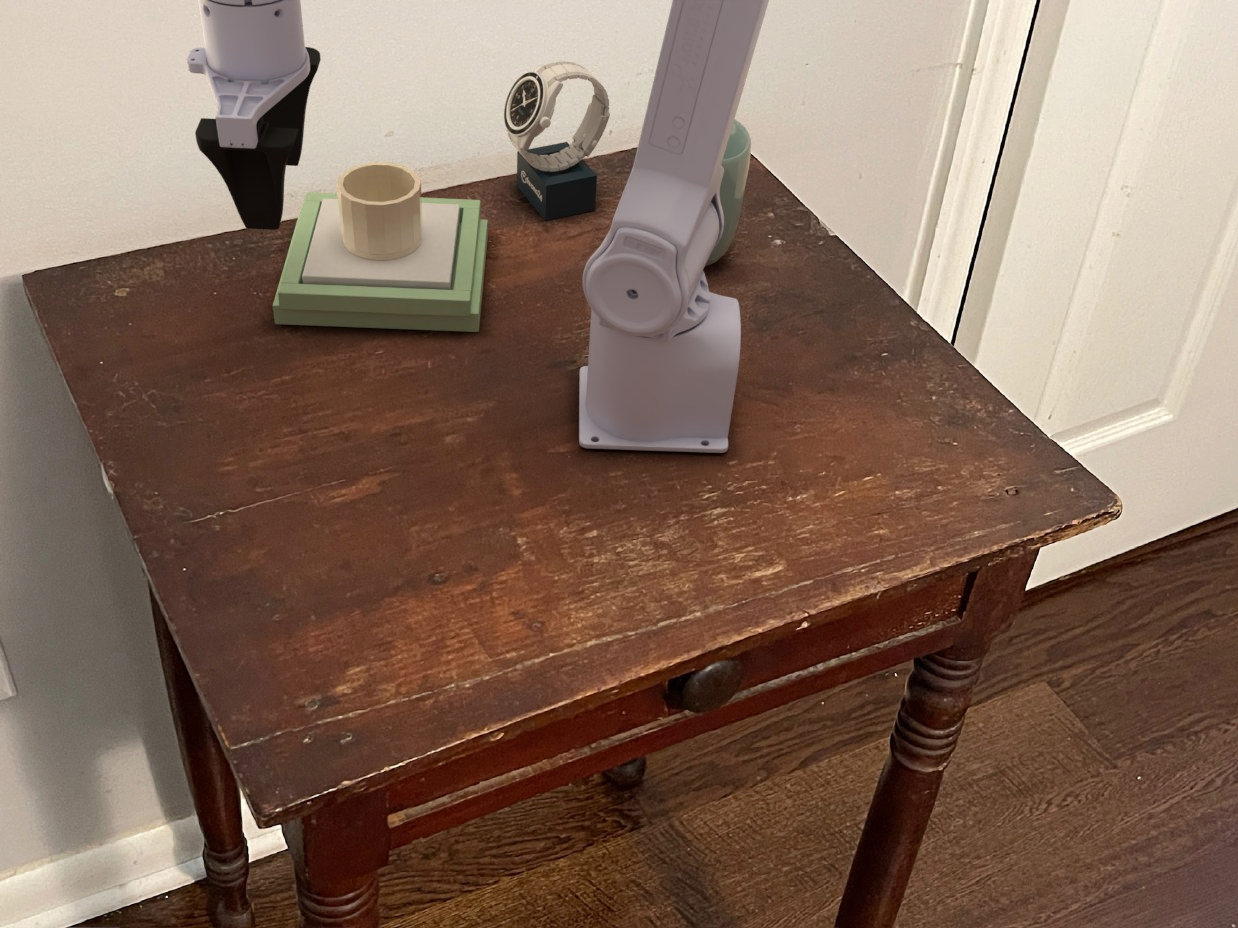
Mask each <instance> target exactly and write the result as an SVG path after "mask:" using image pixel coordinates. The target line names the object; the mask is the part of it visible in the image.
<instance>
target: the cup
mask: <svg viewBox="0 0 1238 928" xmlns="http://www.w3.org/2000/svg"><path fill="white" fill-rule="evenodd" d="M751 153H752V138H751V135H750V133H749V131H748V130H747V128H746V127H745V126H744V125H743V124H742V123H741V122H740V121H738V120H737V119H736V118H735V119H734V122H733V126H732V129H731V133H730V136H729V139H728V143H727V146H726V150H725V153H724V157H723V160H722V163H721V166H722V167H723V168H724V174H723V178H722V181H721V185H720V194H719V195H720V202H721V206H722V210H723V214H724V229H723V233H722V236H721V238H720V240H719V242H718V243H717V245H716V246H715V248H714V249H713V251H712V252H711V254H710V256H709V258H708V260H707V262H706V265H705V267H708V266H711V265H713V264H714V263H716V262H717V261H719V260H721V259H722V258H723V257H724V255H725V254H726V253H727V252H728V251H729V249H730V248H731V246H732V244H733V241H734V238H735V236H736V233H737V231H738V227H739V224H740V219H741V216H742V211H743V208H744V207H743V206H744V202H745V196H746V191H747V190H746V189H747V183H748V175H749V169H750V162H751V155H752V154H751Z"/></svg>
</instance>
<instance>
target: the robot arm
mask: <svg viewBox="0 0 1238 928" xmlns="http://www.w3.org/2000/svg"><path fill="white" fill-rule="evenodd" d="M769 2H770V0H672V1H671V6H670V9H669V14H668V19H667V23H666V27H665V30H664V36H663V39H662V43H661V48H660V52H659V56H658V60H657V64H656V69H655V73H654V77H653V81H652V86H651V89H650V95H649V98H648V103H647V107H646V110H645V111H646V112H645V115H644V119H643V122H642V123H643V124H642V128H641V131H640V134H639V135H640V136H639V140H638V144H637V148H636V153H635V156H634V160H633V165H632V169H631V171H630V174H629V176H628V179H627V181H626V184H625V186H624V189H623V191H622V194H621V197H620V198H619V202H618V205H617V208H616V209H615V212H614V215H613V217H612V221H611V225H610V229H609V230H608V231H607V234H606V236H605V237H604V238H603V240H602V242H601V243H600V245H599V247H598V248H597V249H596V250H595V251H594V252H593V254H591V256H590V257H589V258H588V259H587V261H586V264H585V266H584V268H583V273H582V290H583V293H584V297H585V300H586V302H587V303H588V306H589V307H590V328H589V341H588V357H587V365H583V366H581V367H580V368H579V373H578V375H579V378H578V379H579V381H578V383H579V386H578V388H579V389H578V392H579V394H578V399H579V400H578V401H579V402H578V403H579V404H578V413H579V414H578V443H579V446H580V447H581V448H584V449H592V450H593V449H594V450H623V451H625V450H626V451H648V452H649V451H651V452H675V453H676V452H678V453H682V452H683V453H709V454H712V453H713V454H723V453H724V454H725V453H727V451H728V449H729V439H728V438H729V431H730V426H731V419H732V412H733V406H734V399H735V394H736V387H737V382H738V381H737V380H738V374H739V366H740V357H741V345H742V344H741V341H742V340H741V339H742V336H741V335H742V323H741V321H742V320H741V311H740V310H741V309H740V303H739V300H738V298H735V297H732V296H731V297H730V296H726V295H722V294H719V293H718V294H717V293H714V292H711V291H710V290H709V284H708V280H707V277H706V274H705V271H704V268H705V267H706V266H705V265H706V262H707V260H708V258H709V256H710V254H711V252H712V251H713V249H714V248H715V246H716V245H717V243H718V242H719V240H720V238H721V236H722V233H723V229H724V214H723V210H722V206H721V202H720V195H719V194H720V185H721V181H722V178H723V174H724V168H723V167H722V166H721V163H722V160H723V157H724V153H725V150H726V146H727V143H728V139H729V136H730V133H731V129H732V126H733V122H734V119H735V120H736V115H737V112H738V109H739V105H740V102H741V98H742V94H743V91H744V87H745V85H746V81H747V78H748V75H749V71H750V66H751V64H752V60H753V57H754V53H755V50H756V46H757V44H758V40H759V36H760V32H761V29H762V26H763V23H764V19H765V16H766V12H767V9H768V6H769ZM197 4H198V10H199V17H200V18H199V19H200V24H201V31H202V37H203V44H204V47H195V48H192V49H191V50H190V51H189V53H188V55H187V57H186V59H185V62H186V67H187V71H188V72H189V73H192V74H201V75H204V76H205V77H206V81H207V83H208V85H209V88H210V92H211V94H212V98H213V100H214V103H215V105H216V109H217V110H216V114H215V118H209V117H208V118H205V117H201V118H200V120H199V122H198V125H197V127H196V129H195V133H194V134H195V140H196V141H195V142H196V144H197V147H198V149H199V151H200V152H201V153H202V154H203V155H204V156H205V157H206V158H207V159H208V161H210V163H211V164H212V166H213V167H214V168H215V169H216V170H217V172H218V174H219V175H220V176H221V178H222V180H223V181H224V183H225V186H226V188H227V190H228V192H229V194H230V196H231V198H232V201H233V203H234V206H235V208H236V211H237V213H238V215H239V217H240V220H241V221H242V223H243V225H244V227H245V229H247V230H248V229H249V230H271V231H278V230H279V229H280V226H281V222H282V218H283V212H284V200H285V199H284V198H285V178H286V170H287V169H286V168H287V166H291V167H292V166H293V167H298V166H299V163H300V160H301V156H302V152H303V151H302V150H303V145H304V144H303V143H304V132H305V123H306V121H305V120H306V113H307V105H308V98H309V94H310V89H311V85H312V83H313V81H314V78H315V76H316V74H317V72H318V69H319V66H320V63H321V61H322V60H321V52H320V51H319V50H318V49H316V48H314V47H309V46H306V44H305V35H304V25H303V23H304V22H303V13H302V4H301V0H197Z"/></svg>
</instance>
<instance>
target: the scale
mask: <svg viewBox="0 0 1238 928" xmlns="http://www.w3.org/2000/svg"><path fill="white" fill-rule="evenodd" d="M323 199H338V193H333V192H331V193H330V192H310V191H309V192H308V191H307V192H306V193H305V196H304V200H303V202H302V206H301V210H300V211H299V213H298V216H297V220H296V223H295V227H294V230H293V232H292V233H293V234H292V237H291V241H290V244H289V248H288V251H287V255H286V258H285V261H284V265H283V269H282V272H281V276H280V279H279V283H278V286H277V289H276V293H275V296H274V300H273V303H272V311H273V319H274V324H275V325H284V326H285V325H287V326H311V327H313V326H314V327H316V326H317V327H335V328H337V327H339V328H340V327H342V328H365V329H389V330H413V331H414V330H415V331H436V332H437V331H438V332H439V331H440V332H441V331H442V332H466V333H467V332H468V333H479V332H480V323H481V315H482V302H483V292H484V281H485V271H486V261H487V259H486V258H487V249H488V248H487V247H488V238H489V220H488V219H485V218H484V219H483V218H482V219H481V213H482V211H481V210H482V209H481V208H482V203H481V200H480V199H467V198H465V199H464V198H444V197H443V198H442V197H422V196H421V200H422V203H436V204H458V205H460V226H459V234H458V242H457V250H456V258H455V266H454V274H453V282H452V290H438V289H414V288H390V287H365V286H341V285H317V284H303V279H302V275H303V271H304V268H305V264H306V260H307V257H308V253H309V249H310V245H311V242H312V238H313V234H314V230H315V227H316V223H317V219H318V216H319V212H320V208H321V204H322V201H323Z"/></svg>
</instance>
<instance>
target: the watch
mask: <svg viewBox="0 0 1238 928" xmlns="http://www.w3.org/2000/svg"><path fill="white" fill-rule="evenodd" d="M576 79H580V80H584V81H588V82H590V83H591V85H592V87H593V95H592V96H591V102H590V103H588V106H587V109H586V111H585V114H584V116H583V118H582V121H581V123H580V124H579V126H578V128H577V130H576V131H575V133H574V134H573V136H572V140H573V141H572V142H571V143H570V144H569V143H568V142H567V141H564V142H559V143H554V144H548V145H543V146H537V147H533V148H532V147H531V145H532V143H533V141H534V139H535V138H537V137H538V136H540V134H542V133H543V132H544V131H545V129H548V128H549V127H550V126H551V124H552V121H551V120H552V118H553V115H554V112H555V106H556V102H557V100H556V99H557V97H558V96H559V93H561V91H562V90H563V86H564V83H563V82H564V81H567V80H576ZM610 116H611V114H610V98H609V94H608V92H607V90H606V89H605V87H604V85H603V84H602V83H601V82H600V81H599V80H598V79H597V78H596V77H595V76H594V75H593V74H592V73H591V72H590V71H589V70H588V69H587V68H585V67H584V66H583V65H582V64H579V63H575V62H572V61H562V60H561V61H555V62H550V63H546V64H541V65H539V66H538V67H536V68H535V69H534V70H530V71H527V72H524V73H523V74H521V75H520V76H519V77H518V78H517V79H516V80H515V82H514V83H513V84H512V86H511V88H510V90H509V92H508V94H507V97H506V100H505V104H504V109H503V121H504V126H505V128H506V132H507V136H508V138H509V140H510V142H511V143H512V145H513V147H514V148H515V149H516V150H517V152H516V153H517V154H516V187H517V189H519V191H520V192H521V193H522V195H524V197H525V198H526V199H527V201H529V203H530V204H531V205H532V207H533V208H534V209H535V211H537V213H538V214H539V216H541V218H542V219H543V220H544V221H546V222H547V221H552V220H555V219H556V220H557V219H560V218H564V217H570V216H573V215H575V216H576V215H580V214H582V213H583V214H584V213H589V212H594V211H596V202H597V201H596V200H597V199H596V198H597V186H598V185H597V184H598V175H597V173H596V172H595V171H594V170H593V169H592V168H591V167H590V166H589V165H588V163H587V162H586V161H585V160H584V158H585V157H586V158H587V157H588V158H589V156H590V155H591V154H592V152H593V151H594V150H595V148H596V147H597V145H598V144H599V142H600V140H601V138H602V136H603V134H604V132H605V130H606V128H607V126H608V122H609V119H610ZM530 147H531V148H530Z"/></svg>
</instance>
